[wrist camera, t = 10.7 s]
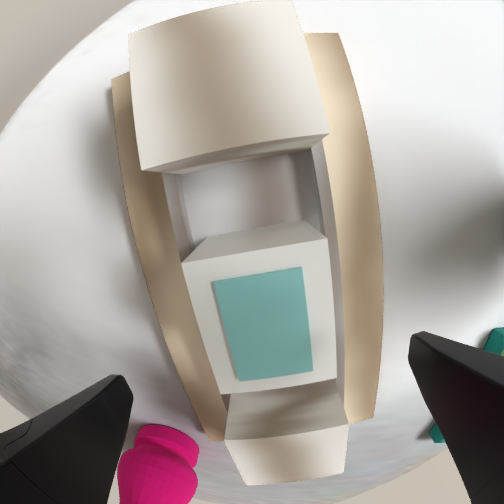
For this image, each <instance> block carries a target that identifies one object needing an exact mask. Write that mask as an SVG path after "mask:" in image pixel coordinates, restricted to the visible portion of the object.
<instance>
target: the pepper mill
mask: <svg viewBox="0 0 504 504" xmlns="http://www.w3.org/2000/svg"><path fill="white" fill-rule="evenodd" d="M134 447H135V448H132V449H129V450H128V451H126V452H124V453H123V455H122V456H121V458H120V461H119V464H118V471H117V479H118V486H119V497H120V504H188V503H189V502H190V500H191V499H192V497H193V495H194V494H195V491H196V488H197V485H198V479H197V476H196V473H195V472H194V470H193V469H192V468H193V467H195V465H196V463H197V459H198V454H199V448H198V445H197V444H196V443H195V441H194V440H193V439H191V438H190V437H189V436H187V435H186V434H184V433H182V432H181V431H178V430H176V429H174V428H171V427H167V426H163V425H155V424H153V425H146V426H143V427H142V428H140V429H139V431H138V433H137V436H136V438H135V440H134Z"/></svg>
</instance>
